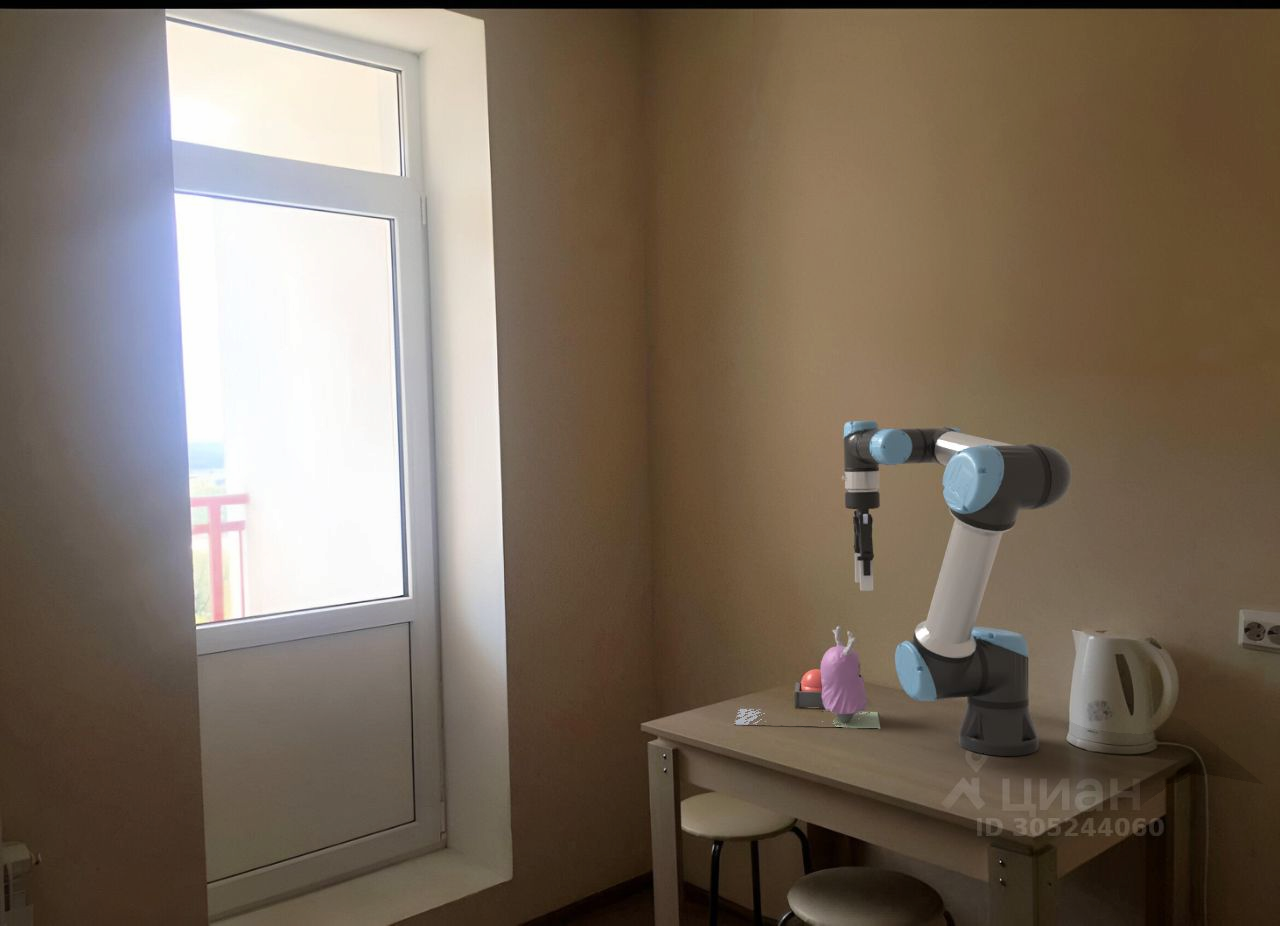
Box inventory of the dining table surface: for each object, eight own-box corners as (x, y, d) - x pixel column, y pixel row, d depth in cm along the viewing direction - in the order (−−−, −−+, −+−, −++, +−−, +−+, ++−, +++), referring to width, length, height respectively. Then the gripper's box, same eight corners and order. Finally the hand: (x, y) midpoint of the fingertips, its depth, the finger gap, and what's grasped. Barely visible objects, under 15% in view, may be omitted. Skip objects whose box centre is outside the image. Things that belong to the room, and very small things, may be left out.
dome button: (832, 703, 242) (831, 673, 242) (801, 702, 244) (800, 672, 243) (831, 696, 249) (831, 666, 249) (801, 695, 250) (801, 666, 250)
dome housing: (838, 709, 241) (838, 692, 241) (794, 708, 242) (794, 692, 242) (837, 698, 250) (837, 682, 250) (796, 697, 252) (795, 682, 252)
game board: (880, 729, 224) (880, 728, 224) (734, 725, 229) (734, 724, 229) (877, 712, 237) (877, 712, 237) (739, 709, 242) (739, 708, 242)
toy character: (873, 726, 225) (873, 633, 225) (825, 726, 225) (824, 633, 225) (862, 711, 237) (862, 623, 237) (816, 711, 238) (816, 623, 237)
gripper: (841, 488, 247) (843, 578, 247) (849, 493, 222) (851, 594, 222) (873, 487, 246) (875, 578, 246) (885, 493, 221) (887, 594, 221)
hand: (864, 586), depth 234 cm, fingers open, 13 cm apart
